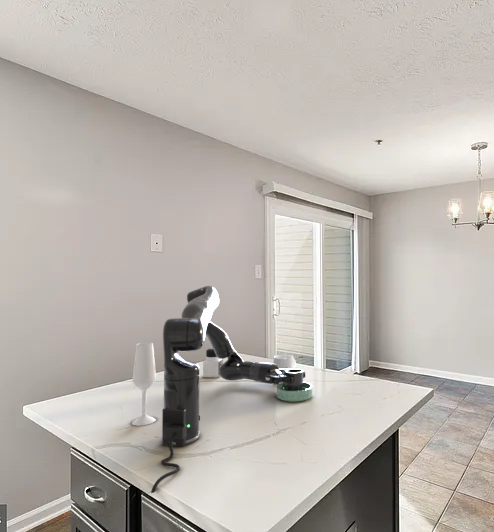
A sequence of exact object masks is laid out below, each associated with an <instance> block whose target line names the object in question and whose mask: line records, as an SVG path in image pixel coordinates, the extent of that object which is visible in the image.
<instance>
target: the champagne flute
mask: <svg viewBox="0 0 494 532" xmlns="http://www.w3.org/2000/svg"><path fill="white" fill-rule="evenodd" d="M154 349H155V348H154V342H149V341H146V342H138V343H136V344H135V350H134V351H135V352H134V360H133V368H132V369H133V370H132V383H133V385H134V386H135V387H136V388H138V389H139V390H141V415H140V416H138V417H137V418H136V419H135V420H133V421H132V422H131V424H132V425H133V426H137V427H139V426H147V425H150V424H153V423H154V422H156V420H157V419H156V417H153V416H151V415H149V414H147V390H148V389H149V388H150V387H152V385H153V384H154V383H155V382H156V381H157V372H156V361H155V350H154Z"/></svg>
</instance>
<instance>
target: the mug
mask: <svg viewBox="0 0 494 532" xmlns="http://www.w3.org/2000/svg"><path fill="white" fill-rule="evenodd" d="M272 361H273V363H272V364H276V365H277V367H278V369H281V368H283V369H285V368H286V367H287V368H295V369H297V361H296V359H295V356H294V355H293V354H284V353H283V354H276V355H273V360H272ZM283 383H284V382H283ZM279 384H280V383H279Z"/></svg>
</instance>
